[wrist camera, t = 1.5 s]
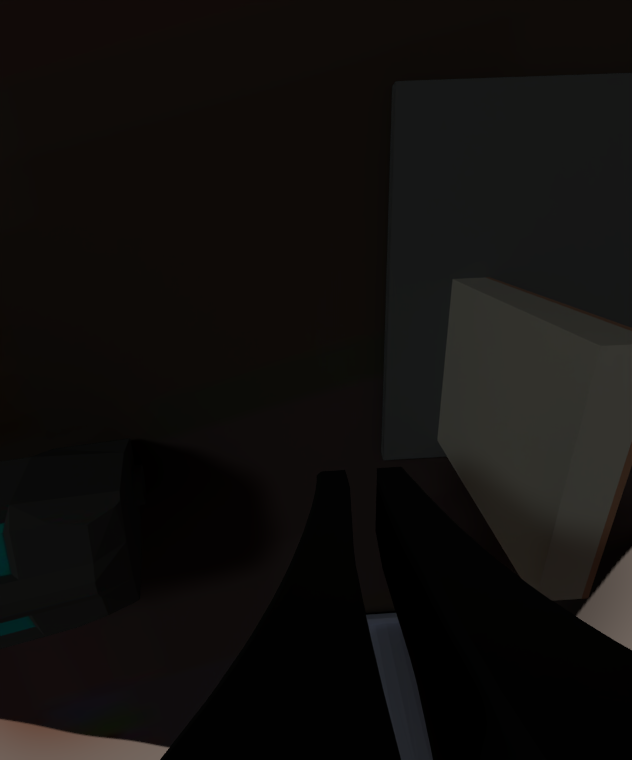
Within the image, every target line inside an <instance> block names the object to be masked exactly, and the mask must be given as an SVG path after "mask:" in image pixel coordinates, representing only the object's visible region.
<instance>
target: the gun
mask: <svg viewBox="0 0 632 760" xmlns="http://www.w3.org/2000/svg"><path fill="white" fill-rule="evenodd" d="M145 504H146V486H145V477H144V470H143V466H142V464H141V465H135V463H134V457H133V451H132V445H131V441H130V439H122V440H115V441H108V442H101V443H94V444H86V445H79V446H72V447H65V448H58V449H52V450H49V451H46V452H43V453H41V454H38V455H35V456H33V457H29V458H22V459H15V460H8V461H1V462H0V649H2V648H5V647H9V646H12V645H16V644H20V643H23V642H27V641H31V640H34V639H38V638H41V637H45V636H49V635H52V634H56V633H59V632H63V631H66V630H70V629H73V628H77V627H80V626H82V625H85V624H87V623H90V622H92V621H95V620H97V619H100V618H102V617H105V616H107V615H109V614H112V613H114V612H116V611H118V610H120V609H122V608H124V607H126V606H128V605H130V604H132V603H134V602H136V601H137V600H139V599H140V579H141V522H140V505H145Z"/></svg>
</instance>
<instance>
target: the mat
mask: <svg viewBox="0 0 632 760" xmlns="http://www.w3.org/2000/svg"><path fill="white" fill-rule="evenodd" d="M484 277H490V278H493V279H496V280H499V281H502V282H505V283H507V284H510V285H513V286H516V287H519V288H521V289H524V290H527V291H530V292H533V293H535V294H538V295H541V296H544V297H547V298H549V299H552V300H555V301H558V302H561V303H563V304H566V305H569V306H572V307H575V308H578V309H580V310H583V311H586V312H589V313H592V314H594V315H597V316H600V317H603V318H606V319H608V320H611V321H614V322H617V323H620V324H622V325H625V326H628V327H631V328H632V73H618V74H589V75H561V76H532V77H504V78H475V79H447V80H418V81H396V82H395V83H394V85H393V86H392V113H391V146H390V180H389V213H388V246H387V280H386V313H385V346H384V379H383V413H382V446H381V454H382V457H383V460H395V459H412V458H429V457H446V454H445V452H444V451H443V449H442V447H441V446H440V444H439V442H438V441H437V438H438V428H439V417H440V407H441V396H442V385H443V375H444V364H445V354H446V343H447V332H448V322H449V311H450V301H451V290H452V280H453V279H463V278H484Z"/></svg>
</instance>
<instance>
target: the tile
mask: <svg viewBox="0 0 632 760" xmlns="http://www.w3.org/2000/svg"><path fill="white" fill-rule="evenodd" d="M437 441H438V442H439V444H440V446H441V447H442V449H443V451H444V452H445V454H446V456H447V457H448V459H449V461H450V462H451V464H452V465H453V467H454V469H455V470H456V472H457V474H458V475H459V477H460V479H461V480H462V482H463V484H464V485H465V487H466V489H467V490H468V492H469V493H470V495H471V497H472V498H473V500H474V502H475V503H476V505H477V507H478V508H479V510H480V512H481V513H482V515H483V517H484V518H485V520H486V522H487V523H488V525H489V526H490V528H491V530H492V531H493V533H494V535H495V536H496V538H497V540H498V541H499V543H500V545H501V546H502V548H503V550H504V551H505V553H506V554H507V556H508V558H509V559H510V561H511V563H512V564H513V566H514V568H515V569H516V571H517V573H518V574H519V576H520V578H521V579H523V580H524V581H525V582H526V583H528V584H529V585H530V586H532V587H533V588H535V589H536V590H538V591H539V592H540V593H542V594H543V595H545V596H546V597H547V598H549V599H550V600H552V601H555V600H569V599H583V598H588V597H589V594H590V591H591V588H592V585H593V581H594V578H595V575H596V572H597V569H598V566H599V563H600V560H601V557H602V554H603V551H604V548H605V545H606V542H607V539H608V536H609V533H610V530H611V527H612V524H613V521H614V518H615V515H616V512H617V509H618V506H619V502H620V499H621V496H622V493H623V490H624V487H625V484H626V481H627V478H628V475H629V472H630V469H631V466H632V328H631V327H628V326H625V325H622V324H620V323H617V322H614V321H611V320H608V319H606V318H603V317H600V316H597V315H594V314H592V313H589V312H586V311H583V310H580V309H578V308H575V307H572V306H569V305H566V304H563V303H561V302H558V301H555V300H552V299H549V298H547V297H544V296H541V295H538V294H535V293H533V292H530V291H527V290H524V289H521V288H519V287H516V286H513V285H510V284H507V283H505V282H502V281H499V280H496V279H493V278H490V277H484V278H463V279H453V280H452V290H451V301H450V311H449V322H448V332H447V343H446V354H445V364H444V375H443V385H442V396H441V407H440V417H439V428H438V438H437Z"/></svg>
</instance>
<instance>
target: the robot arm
mask: <svg viewBox="0 0 632 760" xmlns="http://www.w3.org/2000/svg"><path fill="white" fill-rule="evenodd" d="M376 535H377V540H378V546H379V551H380V557H381V562H382V567H383V571H384V574H385V578H386V581H387V584H388V588H389V591H390V594H391V598H392V601H393V604H394V608H395V611H396V613H384V614H369V615H366V613H365V608H364V604H363V599H362V594H361V589H360V584H359V579H358V575H357V570H356V565H355V556H354V548H353V532H352V516H351V500H350V487H349V483H348V479H347V476H346V472H345V470H341V471H324V472H320V473H319V474H318V475H317V485H316V492H315V496H314V500H313V504H312V508H311V511H310V514H309V517H308V520H307V523H306V526H305V529H304V532H303V535H302V537H301V540H300V542H299V545H298V547H297V549H296V552H295V554H294V557H293V559H292V561H291V564H290V566H289V568H288V570H287V572H286V574H285V576H284V578H283V580H282V582H281V584H280V586H279V588H278V590H277V592H276V594H275V596H274V598H273V599H272V601H271V603H270V605H269V606H268V608H267V610H266V612H265V613H264V615H263V617H262V618H261V620H260V622H259V624H258V625H257V627H256V629H255V630H254V632H253V633H252V635H251V637H250V638H249V640H248V641H247V643H246V645H245V646H244V648H243V649H242V651H241V652H240V653H239V655H238V656H237V658H236V659H235V661H234V662H233V664H232V665H231V667H230V668H229V669H228V671H227V672H226V674H225V675H224V677H223V678H222V680H221V681H220V683H219V684H218V685H217V687H216V688H215V690H214V691H213V692H212V694H211V695H210V696H209V698H208V699H207V701H206V702H205V703H204V704H203V706H202V707H201V708H200V710H199V711H198V712H197V713H196V715H195V716H194V717H193V719H192V720H191V721H190V722H189V724H188V725H187V726H186V727H185V729H184V730H183V731H182V733H181V734H180V735H179V736H178V738H177V739H176V740H175V741H174V743H173V744H172V745H171V747H170V748H169V749H168V751H167V752H166V753H165V754H164V755H163V757H162V758H161V759H160V760H632V650H630V649H628V648H626V647H624V646H623V645H621V644H619V643H618V642H616V641H614V640H613V639H611V638H610V637H608V636H606V635H605V634H603V633H601V632H600V631H598V630H596V629H595V628H593V627H592V626H590V625H588V624H587V623H585V622H584V621H582V620H581V619H579V618H578V617H576V616H575V615H573V614H572V613H570V612H569V611H567V610H565V609H564V608H562V607H561V606H559V605H558V604H556V603H555V602H553V601H552V600H550V599H549V598H547V597H546V596H545V595H543V594H542V593H540V592H539V591H538V590H536V589H535V588H533V587H532V586H530V585H529V584H528V583H526V582H525V581H524V580H523V579H521V578H520V577H519V576H517V575H516V574H515V573H513V572H512V571H511V570H509V569H508V568H507V567H505V566H504V565H503V564H501V563H500V562H499V561H498V560H496V559H495V558H494V557H493V556H492V555H490V554H489V553H488V552H487V551H486V550H485V549H483V548H482V547H481V546H480V545H479V544H478V543H477V542H475V541H474V540H473V539H472V538H471V537H470V536H469V535H468V534H467V533H465V532H464V531H463V530H462V529H461V528H460V527H459V526H458V525H457V524H456V523H455V522H454V521H453V520H452V519H451V518H450V517H449V516H448V515H447V514H446V513H445V512H444V511H443V510H442V509H440V507H439V506H438V505H437V504H436V503H435V502H434V501H433V500H432V499H431V498H430V497H429V496H428V495H427V494H426V493H425V492H424V491H423V490H422V489H421V488H420V487H419V485H418V484H417V483H416V482H415V481H414V480H413V479H412V478H411V477H410V476H409V474H408V473H407V472H406V471H405V470H404V469H403V468H402V467H391V468H377V497H376Z"/></svg>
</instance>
